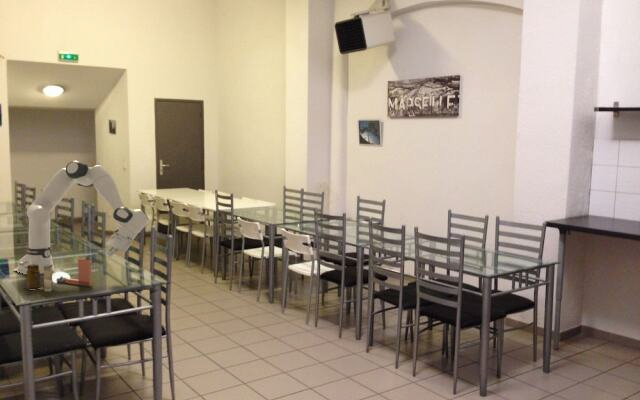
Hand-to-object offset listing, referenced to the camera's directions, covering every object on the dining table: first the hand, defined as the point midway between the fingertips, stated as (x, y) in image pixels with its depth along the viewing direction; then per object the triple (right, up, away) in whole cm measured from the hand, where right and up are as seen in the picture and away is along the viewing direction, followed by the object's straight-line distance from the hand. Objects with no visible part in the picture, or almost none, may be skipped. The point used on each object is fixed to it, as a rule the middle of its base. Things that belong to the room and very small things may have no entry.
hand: (108, 255), depth 308 cm
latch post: (-24, -16, -16) cm, 33 cm away
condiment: (-33, -16, -13) cm, 39 cm away
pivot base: (-25, -14, -1) cm, 29 cm away
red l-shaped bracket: (-14, -15, -5) cm, 21 cm away
